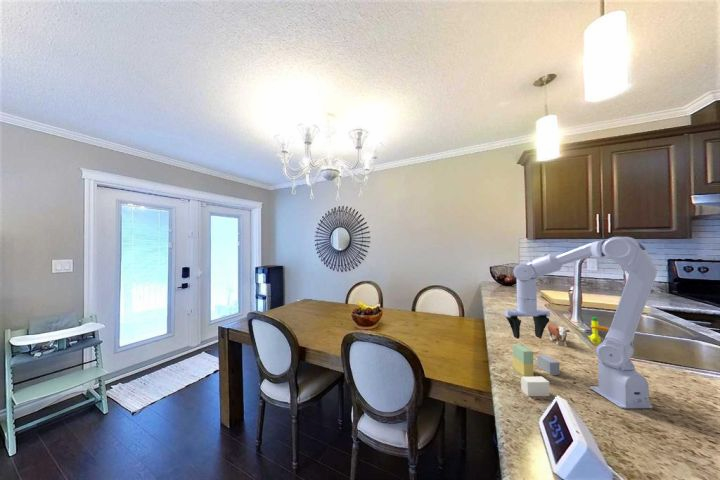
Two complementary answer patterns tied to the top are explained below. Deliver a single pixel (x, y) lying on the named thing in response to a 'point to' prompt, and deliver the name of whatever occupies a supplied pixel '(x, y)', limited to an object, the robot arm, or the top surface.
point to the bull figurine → (557, 333)
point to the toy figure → (596, 331)
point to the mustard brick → (523, 368)
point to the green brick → (523, 354)
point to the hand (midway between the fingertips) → (527, 337)
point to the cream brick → (535, 386)
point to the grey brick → (548, 364)
